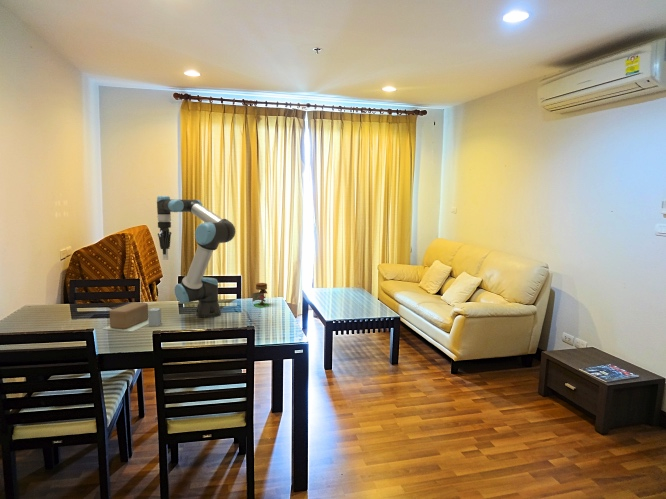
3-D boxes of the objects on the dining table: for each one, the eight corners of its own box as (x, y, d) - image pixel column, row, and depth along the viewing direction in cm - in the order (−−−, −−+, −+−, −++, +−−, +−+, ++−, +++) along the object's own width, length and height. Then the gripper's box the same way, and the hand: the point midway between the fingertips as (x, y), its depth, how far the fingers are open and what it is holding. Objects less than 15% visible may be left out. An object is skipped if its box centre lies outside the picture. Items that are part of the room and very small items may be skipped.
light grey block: (161, 323, 239) (160, 308, 238) (157, 326, 234) (157, 310, 233) (152, 323, 239) (152, 308, 238) (148, 326, 234) (148, 310, 233)
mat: (154, 321, 243) (154, 320, 243) (132, 331, 223) (132, 330, 223) (126, 319, 246) (126, 318, 246) (102, 329, 226) (102, 328, 226)
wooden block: (149, 319, 244) (125, 329, 225) (134, 318, 246) (109, 328, 227) (148, 302, 243) (124, 311, 224) (133, 301, 245) (108, 310, 226)
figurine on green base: (274, 304, 288) (274, 283, 287) (263, 308, 277) (263, 286, 275) (259, 302, 293) (259, 281, 291) (249, 306, 282) (249, 284, 280)
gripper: (163, 220, 263) (164, 258, 266) (152, 221, 251) (154, 260, 253) (175, 221, 263) (176, 258, 265) (164, 221, 250) (166, 261, 252)
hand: (165, 259), depth 259 cm, fingers closed
